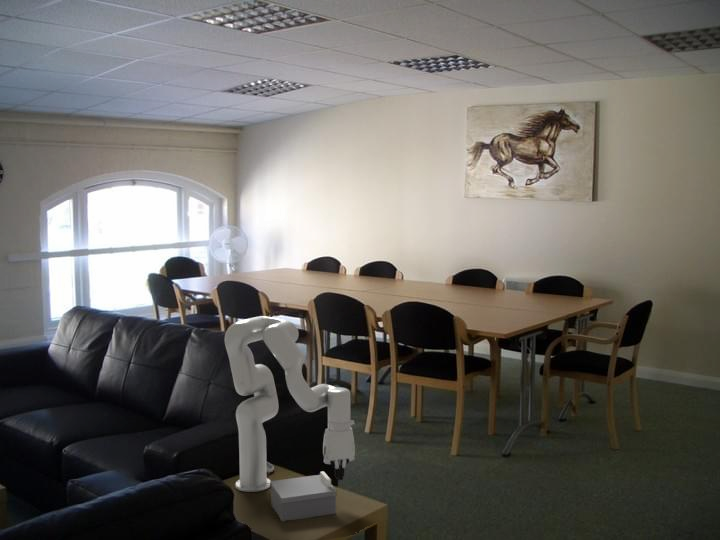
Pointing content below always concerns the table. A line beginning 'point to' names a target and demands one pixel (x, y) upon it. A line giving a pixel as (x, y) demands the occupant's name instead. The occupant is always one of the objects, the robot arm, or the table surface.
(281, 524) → the table surface
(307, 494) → the lid
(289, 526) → the table surface
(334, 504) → the base
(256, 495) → the table surface
